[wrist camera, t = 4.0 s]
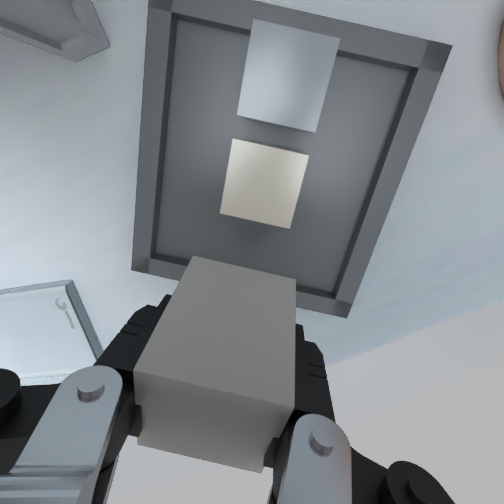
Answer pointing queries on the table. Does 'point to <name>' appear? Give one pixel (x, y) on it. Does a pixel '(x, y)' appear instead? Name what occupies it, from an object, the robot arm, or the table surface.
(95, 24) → the stool
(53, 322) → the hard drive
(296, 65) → the light gray block
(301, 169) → the off-white cubic block
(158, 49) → the tray
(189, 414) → the pale grey cuboid
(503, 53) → the bowl
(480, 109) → the table surface
